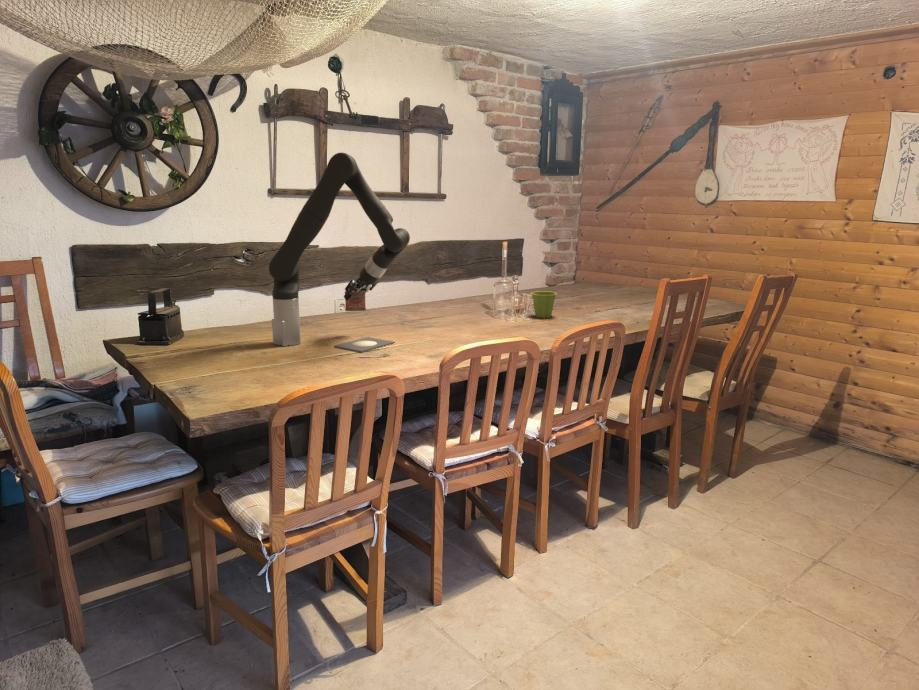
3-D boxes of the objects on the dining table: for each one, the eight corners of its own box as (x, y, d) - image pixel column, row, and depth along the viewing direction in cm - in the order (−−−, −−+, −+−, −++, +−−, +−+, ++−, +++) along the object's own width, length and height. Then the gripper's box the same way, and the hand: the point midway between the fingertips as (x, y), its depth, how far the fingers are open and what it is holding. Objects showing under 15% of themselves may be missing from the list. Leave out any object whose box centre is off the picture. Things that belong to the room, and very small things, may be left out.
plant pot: (542, 313, 298) (543, 290, 295) (561, 317, 289) (562, 293, 286) (524, 316, 290) (525, 292, 288) (543, 320, 282) (544, 295, 279)
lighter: (345, 311, 242) (344, 285, 240) (344, 309, 245) (344, 284, 243) (366, 310, 244) (366, 285, 242) (365, 309, 248) (364, 284, 245)
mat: (361, 352, 222) (361, 351, 222) (333, 347, 230) (333, 345, 230) (395, 343, 236) (394, 341, 236) (367, 338, 244) (367, 336, 244)
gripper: (381, 260, 242) (360, 287, 251) (355, 263, 231) (333, 292, 240) (392, 275, 240) (370, 302, 250) (366, 279, 229) (344, 307, 238)
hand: (352, 297), depth 245 cm, fingers closed on lighter, 7 cm apart
